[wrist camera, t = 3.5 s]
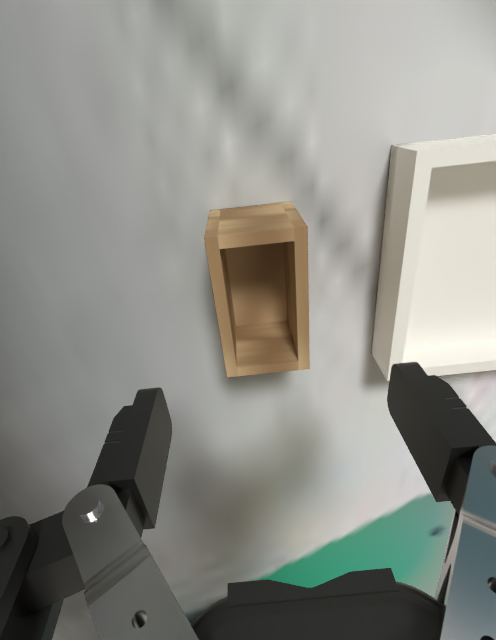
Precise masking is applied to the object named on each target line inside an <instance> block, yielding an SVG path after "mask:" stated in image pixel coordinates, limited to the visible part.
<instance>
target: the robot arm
mask: <svg viewBox="0 0 496 640" xmlns="http://www.w3.org/2000/svg"><path fill="white" fill-rule="evenodd" d="M387 402H388V408H389V411H390V414H391V416H392V418H393V420H394V422H395V424H396V426H397V428H398V430H399V432H400V433H401V435H402V437H403V439H404V441H405V443H406V445H407V447H408V449H409V451H410V453H411V454H412V456H413V458H414V460H415V462H416V464H417V466H418V468H419V470H420V472H421V474H422V475H423V477H424V479H425V481H426V483H427V485H428V487H429V489H430V491H431V493H432V494H433V496H434V498H435V500H436V502H442V501H451V503H452V504H453V507H454V508H455V512H454V515H453V519H452V524H451V528H450V533H449V538H448V542H447V547H446V552H445V556H444V561H443V566H442V570H441V574H440V578H439V582H438V585H437V589H436V593H435V597H434V598H433V597H431V596H430V595H428V594H426V593H425V592H423V591H421V590H419V589H417V588H415V587H412V586H410V585H407V584H404V583H401V582H396V581H395V579H394V576H393V573H392V570H391V568H385V569H375V570H364V571H353V572H349V573H347V574H344V575H342V576H340V577H337V578H335V579H332V580H330V581H328V582H326V583H323V584H321V585H318V586H316V587H313V588H306V587H301V586H296V585H291V584H286V583H282V582H277V581H272V580H258V581H248V582H237V583H228V597H225V598H223V599H221V600H219V601H218V602H216V603H214V604H213V605H211V606H210V607H209V608H207V609H206V610H205V611H203V612H202V613H201V614H200V615H199V616H198V617H197V618H196V619H195V620H194V622H193V623H192V624H191V625H190V623H189V621H188V620H187V618H186V616H185V614H184V612H183V611H182V609H181V607H180V605H179V603H178V602H177V600H176V598H175V596H174V594H173V593H172V591H171V589H170V587H169V586H168V584H167V582H166V580H165V578H164V577H163V575H162V573H161V571H160V569H159V568H158V566H157V564H156V562H155V560H154V559H153V557H152V555H151V553H150V552H149V550H148V548H147V547H146V545H144V543H143V541H142V539H141V537H142V532H143V529H152V528H155V524H156V519H157V513H158V508H159V502H160V497H161V491H162V486H163V480H164V475H165V470H166V464H167V459H168V453H169V448H170V442H171V437H172V423H171V418H170V414H169V411H168V407H167V404H166V400H165V397H164V394H163V391H162V389H161V388H150V389H141V390H138V392H137V394H136V397H135V400H134V403H133V405H132V406H124V407H123V408H122V409H121V410H120V412H119V413H118V414H117V415H116V416H115V417H114V419H113V421H112V424H111V427H110V429H109V434H108V435H107V437H106V440H105V444H104V445H103V448H102V450H101V453H100V455H99V458H98V461H97V463H96V466H95V469H94V471H93V474H92V476H91V479H90V482H89V484H88V486H87V488H85V489H84V490H82V491H80V492H79V493H78V494H76V495H75V496H74V497H73V498H72V499H71V500H70V502H69V503H68V504H67V506H66V508H65V510H64V511H62V512H60V513H58V514H55V515H53V516H50V517H48V518H45V519H43V520H40V521H38V522H35V523H33V524H30V525H29V524H28V523H27V521H26V520H25V519H23V518H21V517H17V516H13V517H7V518H4V519H2V520H0V640H52V637H53V634H54V630H55V627H56V624H57V620H58V617H59V613H60V610H61V607H62V603H63V600H64V598H66V597H69V596H71V595H73V594H75V593H77V592H79V591H82V590H84V589H86V591H85V592H84V594H85V599H86V602H87V605H88V608H89V611H90V614H91V616H92V619H93V622H94V625H95V628H96V630H97V633H98V636H99V639H100V640H496V443H495V441H494V440H493V439H492V438H491V436H490V435H489V434H488V433H487V431H486V430H485V429H484V428H483V426H482V425H481V424H480V423H479V421H478V420H477V419H476V418H475V416H474V415H473V414H472V413H471V411H470V410H469V409H467V408H466V405H465V404H464V402H463V401H462V400H461V399H459V396H458V395H457V394H456V392H455V391H454V390H453V389H452V387H451V386H450V385H449V384H448V383H446V382H445V381H443V380H442V379H440V378H439V377H437V376H436V375H430V376H428V375H427V374H426V373H425V371H424V370H423V368H422V367H421V366H420V364H419V363H417V362H408V363H398V364H393V365H392V367H391V374H390V381H389V389H388V396H387Z"/></svg>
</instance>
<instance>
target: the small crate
mask: <svg viewBox="0 0 496 640" xmlns="http://www.w3.org/2000/svg"><path fill="white" fill-rule="evenodd" d="M204 240H205V246H206V252H207V258H208V264H209V270H210V276H211V282H212V288H213V294H214V300H215V306H216V312H217V319H218V325H219V331H220V337H221V343H222V349H223V355H224V361H225V367H226V373H227V377H236V376H246V375H255V374H265V373H275V372H284V371H294V370H303V369H310V366H309V294H308V226H307V225H306V223H305V222H304V220H303V219H302V217H301V216H300V214H299V213H298V211H297V210H296V208H295V207H294V205H293V204H292V202H282V203H273V204H264V205H255V206H246V207H237V208H228V209H219V210H210V212H209V217H208V222H207V227H206V231H205V236H204Z"/></svg>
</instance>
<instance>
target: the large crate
mask: <svg viewBox="0 0 496 640" xmlns="http://www.w3.org/2000/svg"><path fill="white" fill-rule="evenodd" d="M372 355H373V357H374V359H375V361H376V362H377V364H378V366H379V368H380V369H381V371H382V373H383V375H384V376H385V378H386V380H387V381H390V374H391V367H392V365H393V364H398V363H408V362H417V363H419V364H420V366H421V367H422V368H423V370H424V371H425V373H426V374H427V375H428V376H430V375H436V376H441V375H451V374H461V373H470V372H480V371H490V370H496V134H489V135H480V136H471V137H462V138H453V139H444V140H435V141H427V142H418V143H409V144H400V145H392V146H391V157H390V167H389V177H388V188H387V198H386V209H385V219H384V229H383V240H382V250H381V261H380V271H379V282H378V292H377V302H376V313H375V323H374V334H373V344H372Z"/></svg>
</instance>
